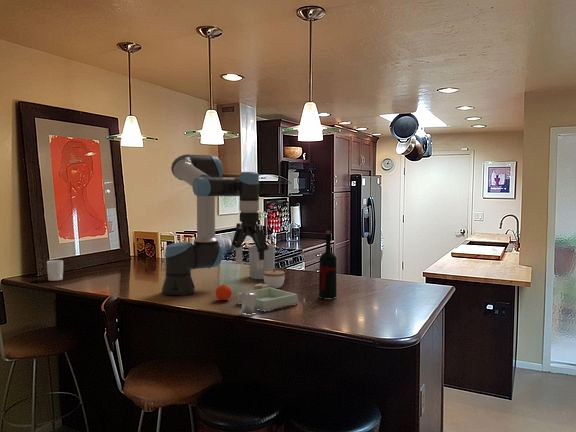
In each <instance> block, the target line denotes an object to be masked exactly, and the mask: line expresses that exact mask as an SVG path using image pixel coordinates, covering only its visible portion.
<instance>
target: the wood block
mask: <svg viewBox="0 0 576 432" xmlns="http://www.w3.org/2000/svg"><path fill="white" fill-rule="evenodd" d="M264 288H269V285H268V284H265V283H258V284H253V290H258V289H264Z"/></svg>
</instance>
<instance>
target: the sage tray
mask: <svg viewBox="0 0 576 432" xmlns="http://www.w3.org/2000/svg"><path fill="white" fill-rule="evenodd" d="M243 292H244V291H243ZM243 292H237V303H238V302H239V303H242V293H243ZM247 292H256V293H257V309H260V310H268V309H272V308H278V307H282V306H286V305H291V304H296V303H297V304H298V294H297V293H294V292H291V291H285V290H282V289H280V288H279V289H275V288H271V287H269V288H264V289H258V290H254V289H253V290H248V291H247Z"/></svg>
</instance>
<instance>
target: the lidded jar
mask: <svg viewBox="0 0 576 432" xmlns="http://www.w3.org/2000/svg"><path fill="white" fill-rule="evenodd" d="M263 275H264V279H263V282H264V283H263V284H268V285H269V287H271V288H279V287H280V288H281V287H282V286H283V285H284V282H285V279H286V277H285V276H286V272H285V271H283V270H277V269H276V268H275V269H273V270H270V271H265V272H263ZM280 288H279V289H280Z"/></svg>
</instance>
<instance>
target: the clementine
mask: <svg viewBox="0 0 576 432" xmlns="http://www.w3.org/2000/svg"><path fill="white" fill-rule="evenodd" d="M232 294H233V293H232V289H231V287H230V286H229V285H227V284H220V285H219V286H217V288H216V289H215V296H216V298H217V300H219V301H221V300H226V301H228V300H229V299H230V298H231V296H232Z"/></svg>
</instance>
